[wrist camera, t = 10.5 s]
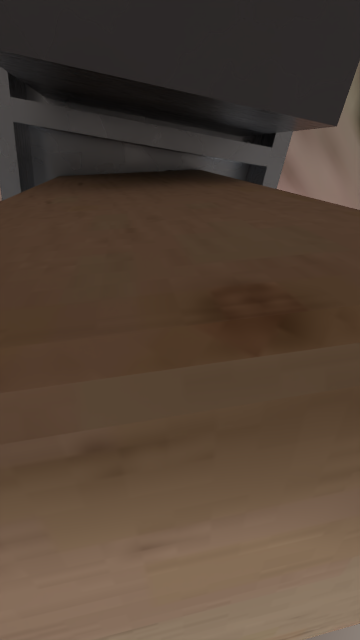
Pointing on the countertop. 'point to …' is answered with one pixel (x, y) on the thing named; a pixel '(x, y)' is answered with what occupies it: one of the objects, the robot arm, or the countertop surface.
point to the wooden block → (178, 410)
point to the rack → (167, 84)
